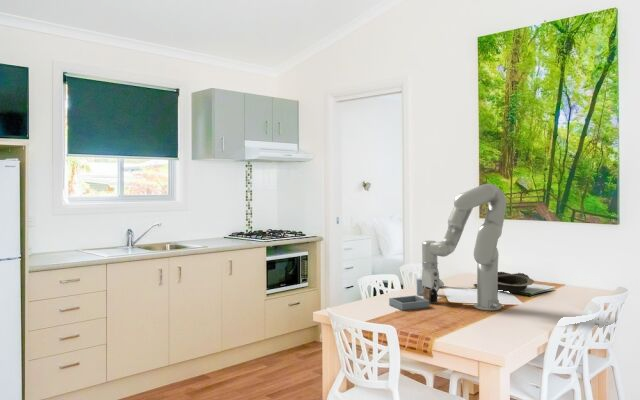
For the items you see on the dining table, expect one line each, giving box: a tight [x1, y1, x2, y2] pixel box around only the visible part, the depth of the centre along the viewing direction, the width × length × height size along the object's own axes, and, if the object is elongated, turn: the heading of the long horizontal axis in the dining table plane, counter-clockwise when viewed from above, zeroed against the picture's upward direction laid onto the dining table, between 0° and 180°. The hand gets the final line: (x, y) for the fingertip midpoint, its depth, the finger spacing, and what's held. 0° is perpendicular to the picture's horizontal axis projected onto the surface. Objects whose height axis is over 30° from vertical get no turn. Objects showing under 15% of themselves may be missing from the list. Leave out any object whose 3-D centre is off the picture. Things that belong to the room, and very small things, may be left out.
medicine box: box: [415, 277, 428, 296], centre depth 289 cm, size 8×4×9 cm, turn 84°
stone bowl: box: [498, 271, 535, 294], centre depth 295 cm, size 25×25×9 cm
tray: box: [388, 294, 430, 312], centre depth 263 cm, size 13×15×4 cm
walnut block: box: [423, 288, 438, 305], centre depth 271 cm, size 5×5×7 cm
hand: (430, 300), depth 271 cm, fingers closed on walnut block, 5 cm apart
